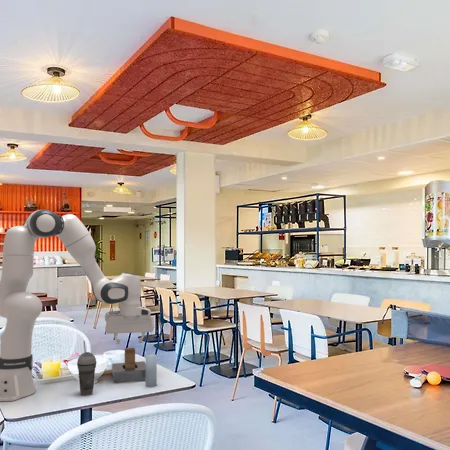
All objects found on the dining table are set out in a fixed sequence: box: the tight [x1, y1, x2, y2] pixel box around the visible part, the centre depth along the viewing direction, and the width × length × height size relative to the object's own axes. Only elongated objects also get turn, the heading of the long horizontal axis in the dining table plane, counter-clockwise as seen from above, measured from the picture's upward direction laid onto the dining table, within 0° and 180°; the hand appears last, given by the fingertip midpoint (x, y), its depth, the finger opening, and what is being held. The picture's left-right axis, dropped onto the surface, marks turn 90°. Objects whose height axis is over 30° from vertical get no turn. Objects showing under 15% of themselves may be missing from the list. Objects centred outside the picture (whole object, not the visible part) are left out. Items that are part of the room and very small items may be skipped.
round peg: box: [144, 353, 158, 388], centre depth 194 cm, size 4×4×12 cm
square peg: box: [124, 347, 136, 369], centre depth 205 cm, size 4×4×12 cm
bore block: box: [111, 360, 146, 384], centre depth 205 cm, size 14×14×4 cm
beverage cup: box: [76, 340, 97, 396], centre depth 184 cm, size 7×7×20 cm
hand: (129, 343), depth 205 cm, fingers open, 8 cm apart
